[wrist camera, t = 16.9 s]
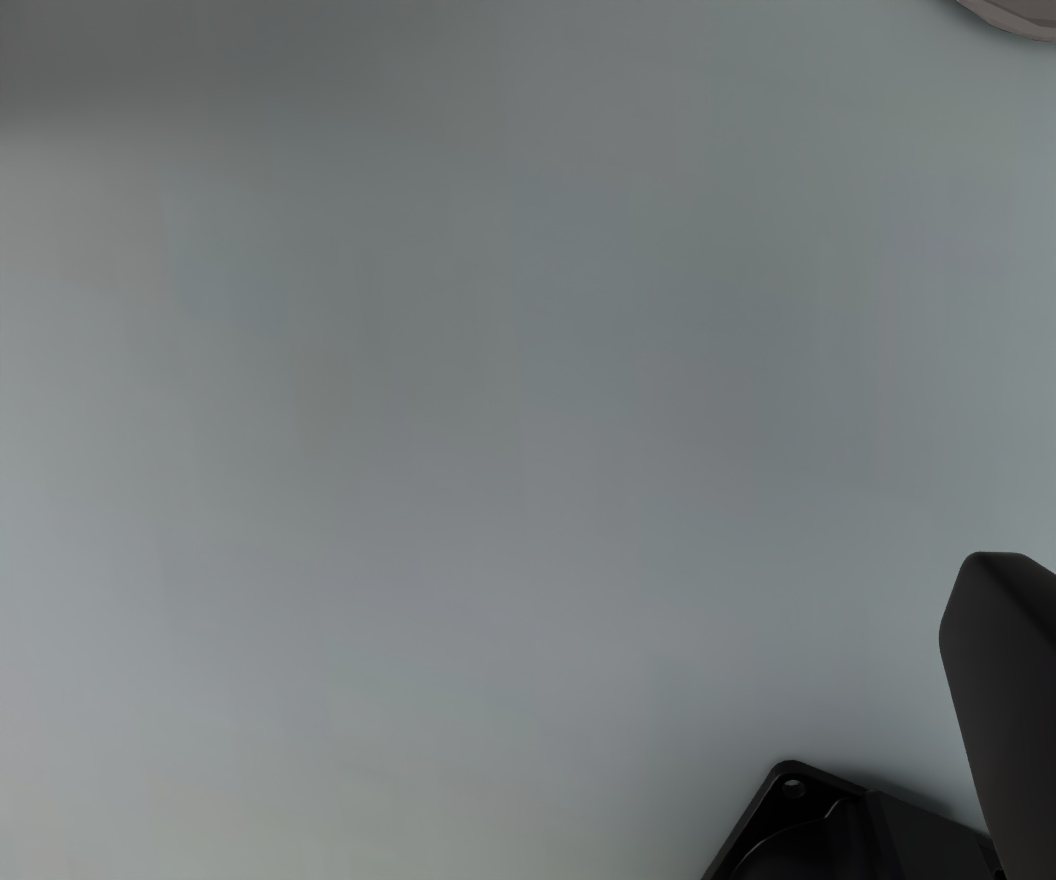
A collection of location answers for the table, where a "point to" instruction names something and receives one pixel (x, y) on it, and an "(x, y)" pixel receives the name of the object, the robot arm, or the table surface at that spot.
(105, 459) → the table surface
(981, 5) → the pocket watch
